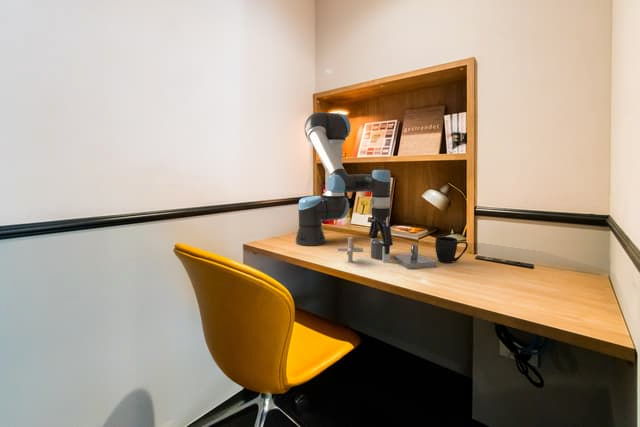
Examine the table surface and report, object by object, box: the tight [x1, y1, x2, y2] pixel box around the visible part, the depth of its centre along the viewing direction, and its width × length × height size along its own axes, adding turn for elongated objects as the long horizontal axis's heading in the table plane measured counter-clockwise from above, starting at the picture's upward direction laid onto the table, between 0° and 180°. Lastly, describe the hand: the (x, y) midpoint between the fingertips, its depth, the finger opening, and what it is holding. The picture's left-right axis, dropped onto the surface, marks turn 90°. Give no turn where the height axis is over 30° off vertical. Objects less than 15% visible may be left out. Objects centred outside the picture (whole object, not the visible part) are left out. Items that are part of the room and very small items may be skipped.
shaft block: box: [392, 243, 437, 270], centre depth 126 cm, size 12×12×8 cm
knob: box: [370, 238, 384, 261], centre depth 135 cm, size 7×7×7 cm
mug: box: [434, 236, 469, 265], centre depth 127 cm, size 8×12×10 cm
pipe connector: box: [337, 236, 364, 263], centre depth 129 cm, size 10×10×10 cm
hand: (379, 256), depth 135 cm, fingers open, 12 cm apart
